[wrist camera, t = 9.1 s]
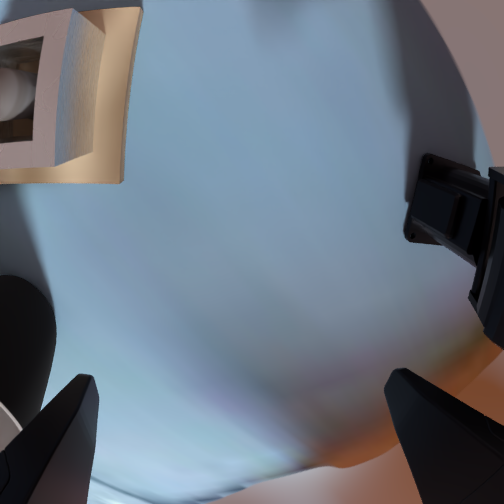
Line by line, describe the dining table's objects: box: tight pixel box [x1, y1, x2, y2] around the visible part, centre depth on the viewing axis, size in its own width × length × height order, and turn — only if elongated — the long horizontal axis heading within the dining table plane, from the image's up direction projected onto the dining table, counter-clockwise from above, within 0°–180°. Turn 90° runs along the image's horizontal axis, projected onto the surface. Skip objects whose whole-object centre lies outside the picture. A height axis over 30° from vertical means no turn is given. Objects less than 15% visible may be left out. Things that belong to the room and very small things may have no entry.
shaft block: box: [0, 7, 143, 184], centre depth 11 cm, size 10×10×6 cm
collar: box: [0, 8, 106, 169], centre depth 11 cm, size 7×7×5 cm
